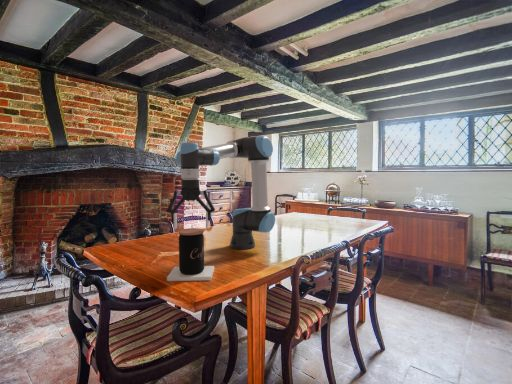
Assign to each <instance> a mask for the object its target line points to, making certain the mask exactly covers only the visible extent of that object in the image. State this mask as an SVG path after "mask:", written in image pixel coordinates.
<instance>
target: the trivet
mask: <svg viewBox="0 0 512 384" xmlns="http://www.w3.org/2000/svg"><path fill="white" fill-rule="evenodd" d="M214 271H215V265H204V270H203V271H202V272H201V273H199V274H195V275H184V274H182V273H181V272H180V270H179V266H174V267H173V268H172V269H171V271H170V272H169V273H168V275H167V277H166V282H185V281H186V282H187V281H188V282H189V281H190V282H191V281H198V282H199V281H212V277H213V276H214V275H213V274H214Z"/></svg>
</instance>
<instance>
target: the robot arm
mask: <svg viewBox="0 0 512 384" xmlns="http://www.w3.org/2000/svg"><path fill="white" fill-rule="evenodd" d="M273 151H274V148H273V143H272V141H271V140H270V138H269V137H268V136H266V135H255V136H247V137H246V136H245V137H241V138H237V139H234V140H228V141H227V142H226V143H222V144H216V145H210V146H204V147H200V146H199V144H198V143H197V142H192V141H191V142H189V141H188V142H186V141H185V142H182V143H181V144H180V149H179V151H178V152H177V153H176V155H175V161H176V163H177V164H178V165H179V166H180V176H181V177H180V178H181V181H180V183H181V188H180V189H181V190H174V191H173V196H172V199H171V201H169V202H170V203H169V205H168V206H167V209H166V213H169V214H171V215H170V216H171V217H170V218H171V221H172V222H173V230H177V229H178V213H177V210H178V209H179V208H180V207H181V205H183V203H184V202H185V201H187V202H190V201H191V202H195V201H196V202H198V204H199V205H200V206H201V207H202V209H204V211H206V213H205V229H209V227H210V225H209V221H211V220H212V213H213V212H215V210H216V209H215V206H214V205H213V203H212V201H211V199H210V197H209V195H208V190H206V189H205V190H200V180H199V178H200V166H201V167H203V166H211V167H212V166H216V165H218V164H219V162H220V160H223V159H228V158H229V159H236V158H238V159H239V158H241V159H242V158H243V159H247V161H248V163H249V164H250V168H251V169H250V170H251V175H250V176H251V194H252V196H251V197H252V206H251V207H245V208H243V207H242V208H237V209H233V211H232V216H231V217H232V235H231V238H230V243H229V247H230V248H231V249H233V250H234V249H235V250H250V249H254V248H255V247H256V242H255V239H254V236H253V232H258V233H265V234H266V233H270V232H271V231H272V230H273V228H274V226H275V224H276V215H275V214H274V212H272V209H271V207H270V206H269V205H268V204H269V201H268V199H269V198H268V176H267V175H268V174H267V173H268V172H267V170H268V169H267V163H268V162H269V161H270V158H271V156H272V155H273ZM201 194H202V195H201ZM180 195H181V196H182V197H181V199H180V200H179V201H178V202H177V204H176V205H175V202H176V200H177V198H178V196H180ZM200 195H201V196H203V197H204V199H205V200H206V203H207V205H208V206H209V207H208V206H207V205H206V203H205V202H204V201H203V200H202V199H201V198H200ZM174 205H175V206H174ZM173 207H174V208H173Z"/></svg>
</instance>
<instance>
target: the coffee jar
mask: <svg viewBox="0 0 512 384" xmlns="http://www.w3.org/2000/svg"><path fill="white" fill-rule="evenodd" d="M204 232H205V231H204V229H202V228H198V227H197V228H196V227H195V228H194V227H193V228H192V227H191V228H183V229H179V230H178V234H179V236H178V267H179V270H180V272H181V273H182V274H184V275H195V274H199V273H201V272H202V271H203V270H204V266H205V238H204V237H205V236H204Z"/></svg>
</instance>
